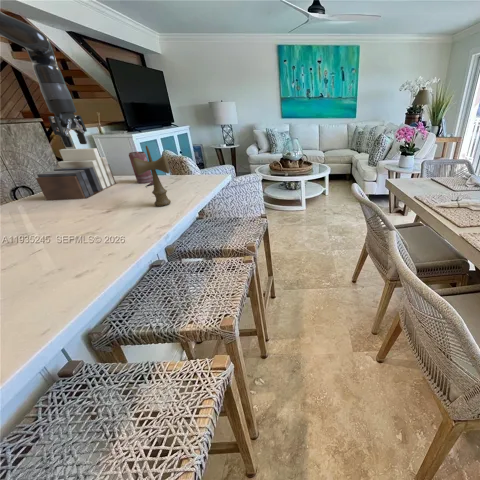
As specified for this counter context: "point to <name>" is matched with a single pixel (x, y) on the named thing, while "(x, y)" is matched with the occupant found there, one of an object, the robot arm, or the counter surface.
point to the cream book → (83, 156)
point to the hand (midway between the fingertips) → (76, 145)
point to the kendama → (154, 175)
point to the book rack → (74, 180)
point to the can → (145, 176)
